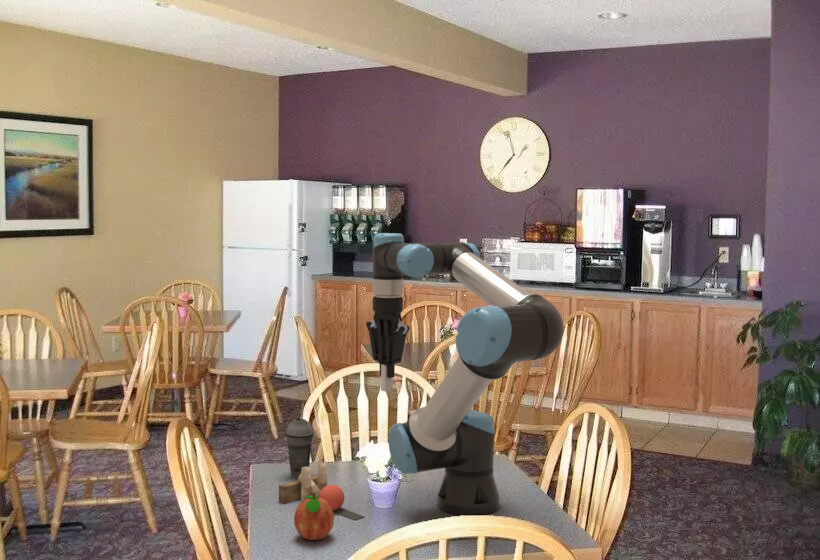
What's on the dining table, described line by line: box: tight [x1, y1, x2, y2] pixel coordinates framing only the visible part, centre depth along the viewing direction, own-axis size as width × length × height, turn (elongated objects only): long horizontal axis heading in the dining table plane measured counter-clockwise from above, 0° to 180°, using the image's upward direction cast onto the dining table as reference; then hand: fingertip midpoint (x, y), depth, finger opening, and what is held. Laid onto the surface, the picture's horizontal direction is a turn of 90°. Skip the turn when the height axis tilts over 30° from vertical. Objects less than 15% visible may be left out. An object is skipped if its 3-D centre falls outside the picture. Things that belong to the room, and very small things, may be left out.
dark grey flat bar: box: [333, 507, 365, 521], centre depth 212 cm, size 10×3×1 cm, turn 46°
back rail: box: [278, 474, 317, 504], centre depth 223 cm, size 12×2×4 cm, turn 136°
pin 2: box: [316, 461, 328, 490], centre depth 221 cm, size 2×2×9 cm
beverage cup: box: [285, 402, 314, 480], centre depth 238 cm, size 7×7×20 cm
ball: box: [319, 484, 345, 511], centre depth 214 cm, size 6×6×6 cm
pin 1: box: [300, 466, 312, 503], centre depth 217 cm, size 2×2×9 cm
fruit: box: [293, 493, 335, 541], centre depth 196 cm, size 9×10×10 cm
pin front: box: [297, 474, 321, 498], centre depth 220 cm, size 2×2×9 cm
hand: (386, 389), depth 225 cm, fingers closed
